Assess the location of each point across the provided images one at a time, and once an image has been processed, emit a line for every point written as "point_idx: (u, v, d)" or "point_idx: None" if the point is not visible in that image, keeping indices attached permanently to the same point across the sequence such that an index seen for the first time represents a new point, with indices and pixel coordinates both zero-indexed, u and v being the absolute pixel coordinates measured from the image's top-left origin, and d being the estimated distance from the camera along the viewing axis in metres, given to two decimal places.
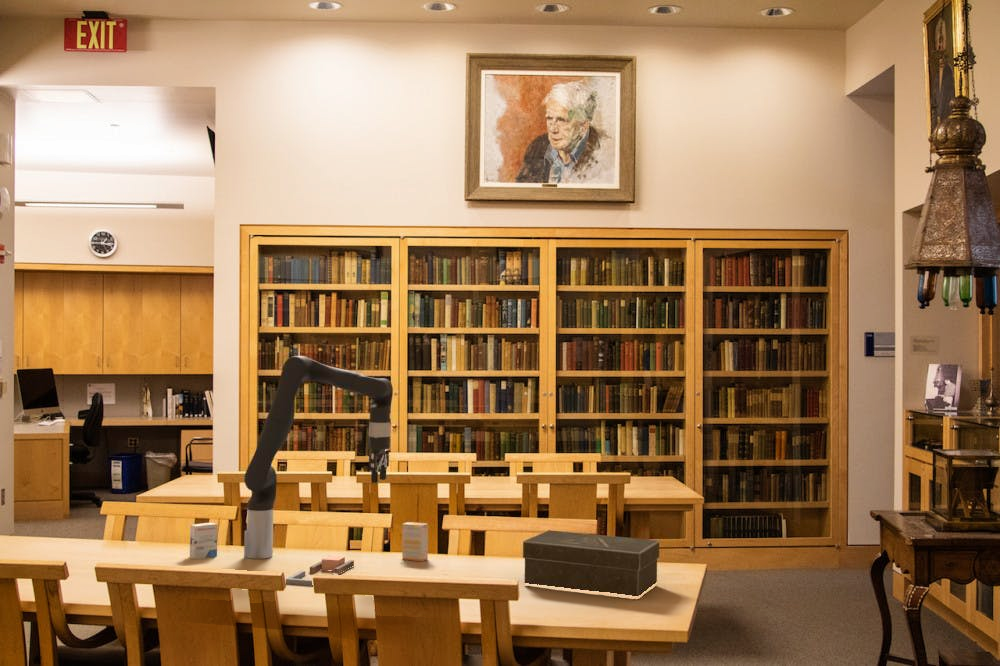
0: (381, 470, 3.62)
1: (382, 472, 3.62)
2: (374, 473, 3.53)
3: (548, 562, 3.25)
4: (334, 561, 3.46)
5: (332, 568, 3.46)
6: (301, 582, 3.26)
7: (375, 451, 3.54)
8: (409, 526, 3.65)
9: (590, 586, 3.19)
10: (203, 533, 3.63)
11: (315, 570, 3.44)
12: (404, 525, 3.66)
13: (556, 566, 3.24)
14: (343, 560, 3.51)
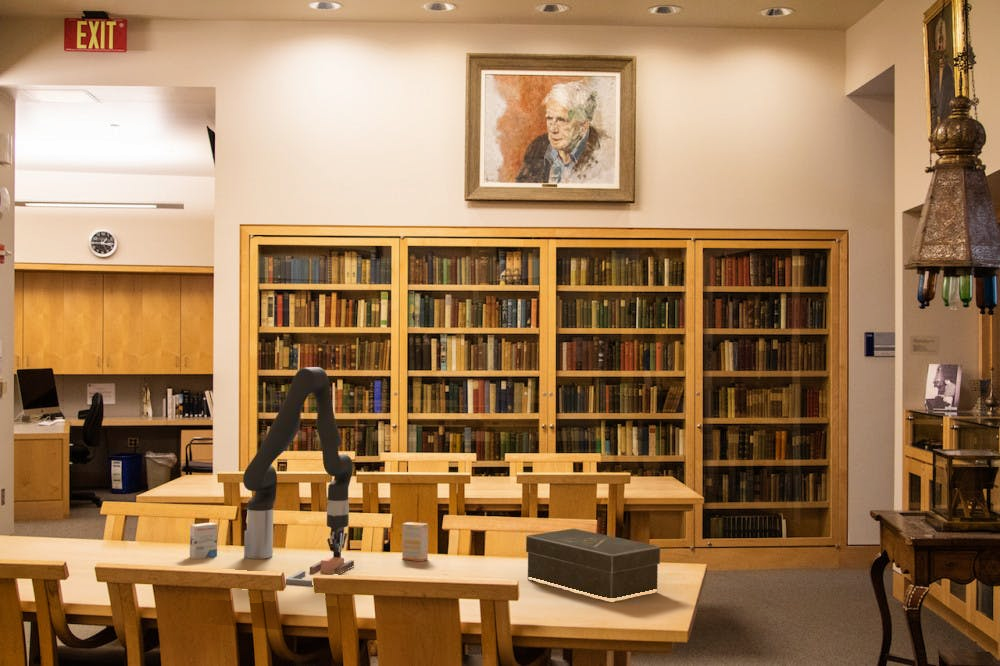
0: None
1: None
2: (336, 553, 3.51)
3: (544, 558, 3.32)
4: (333, 562, 3.44)
5: (331, 569, 3.44)
6: (301, 582, 3.26)
7: (333, 530, 3.49)
8: (409, 526, 3.65)
9: (575, 585, 3.21)
10: (203, 533, 3.63)
11: (315, 570, 3.44)
12: (404, 525, 3.66)
13: (550, 562, 3.30)
14: (342, 561, 3.49)
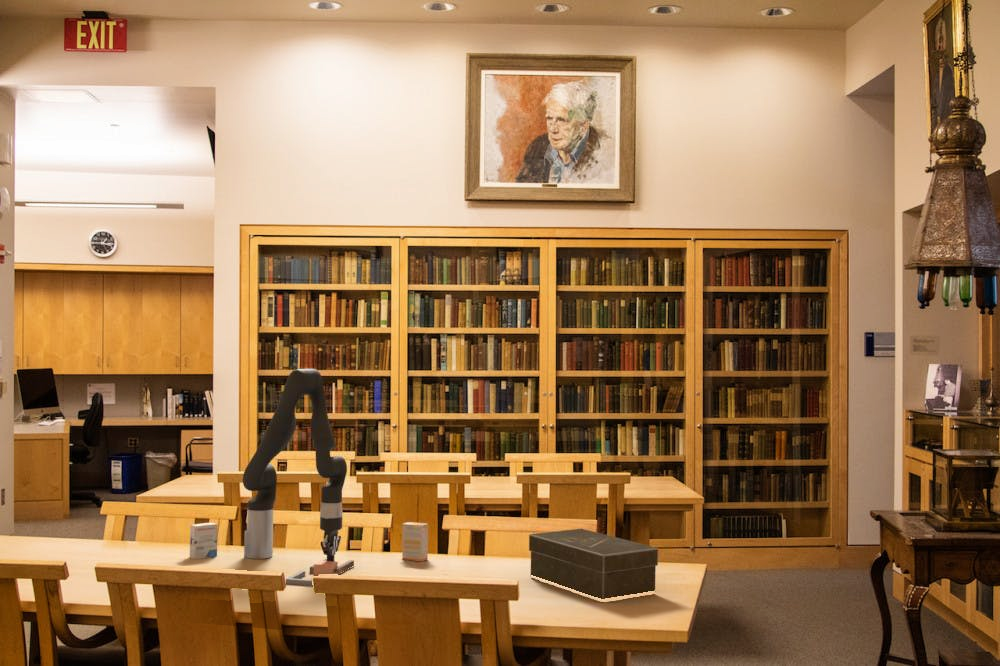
0: None
1: None
2: (329, 557, 3.45)
3: (545, 557, 3.33)
4: (327, 566, 3.39)
5: (325, 573, 3.39)
6: (301, 582, 3.26)
7: (326, 533, 3.43)
8: (409, 526, 3.65)
9: (571, 584, 3.21)
10: (203, 533, 3.63)
11: None
12: (404, 525, 3.66)
13: (549, 561, 3.31)
14: (336, 564, 3.43)
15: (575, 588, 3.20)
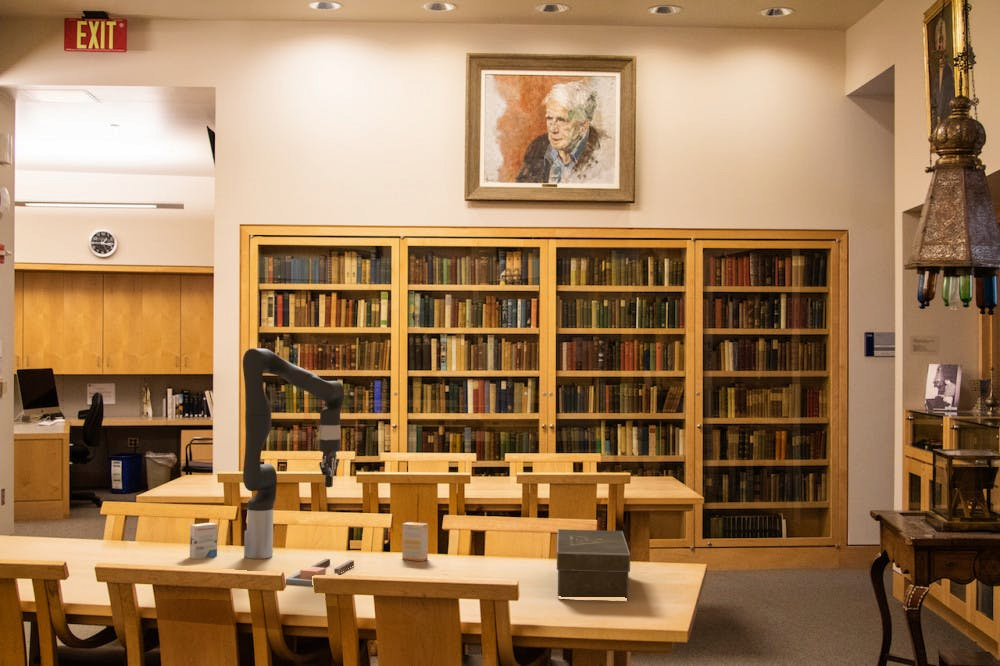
0: None
1: None
2: (328, 477, 3.56)
3: None
4: (313, 572, 3.29)
5: None
6: (301, 582, 3.26)
7: (325, 454, 3.54)
8: (409, 526, 3.65)
9: None
10: (203, 533, 3.63)
11: None
12: (404, 525, 3.66)
13: None
14: (323, 571, 3.33)
15: None
